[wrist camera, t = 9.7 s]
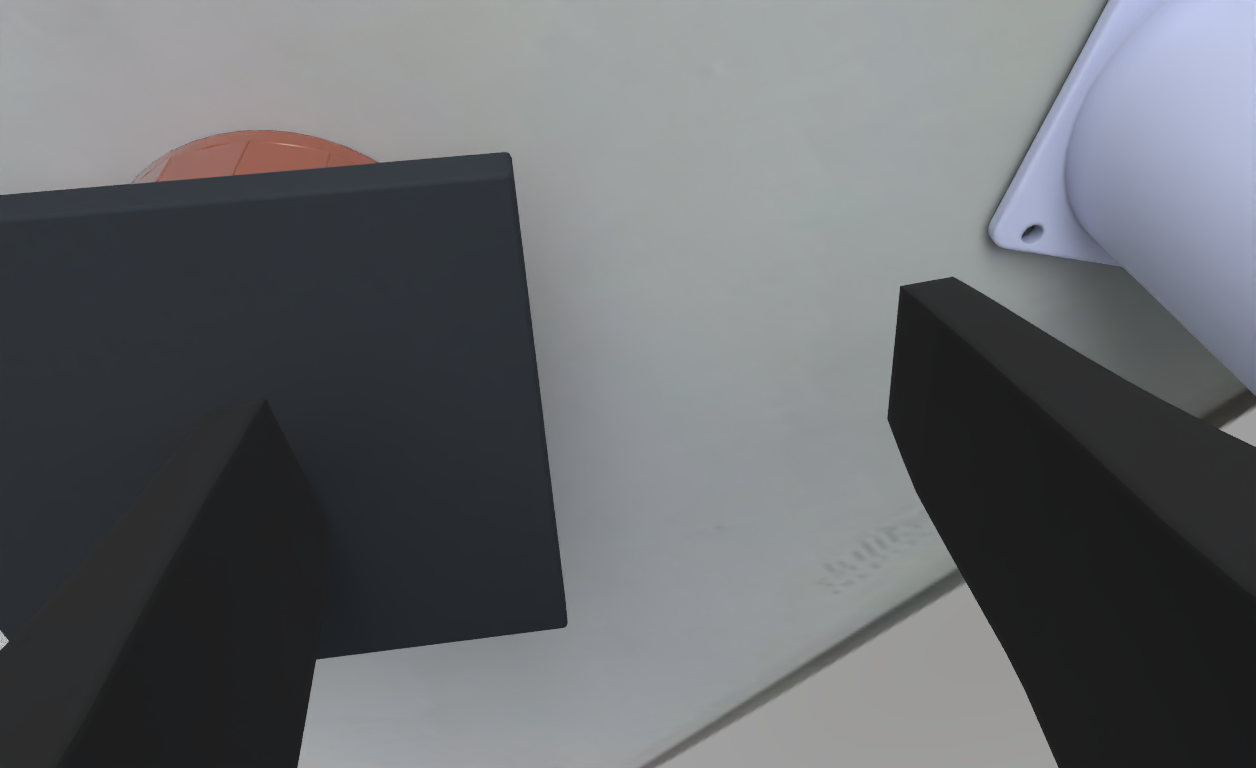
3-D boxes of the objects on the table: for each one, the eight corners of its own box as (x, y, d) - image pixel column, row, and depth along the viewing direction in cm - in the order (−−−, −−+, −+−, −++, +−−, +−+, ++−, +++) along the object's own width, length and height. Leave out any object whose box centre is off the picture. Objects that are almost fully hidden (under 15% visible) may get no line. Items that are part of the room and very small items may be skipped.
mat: (510, 148, 13) (520, 299, 10) (565, 599, 21) (580, 767, 17) (-277, 216, 13) (-518, 400, 10) (63, 662, 20) (-13, 851, 17)
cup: (486, 161, 19) (489, 306, 15) (447, 428, 24) (441, 595, 20) (83, 98, 17) (-40, 243, 13) (126, 401, 22) (44, 580, 18)
